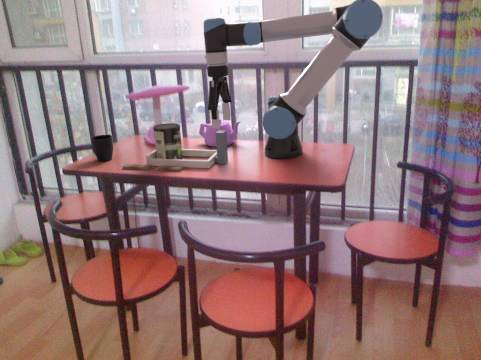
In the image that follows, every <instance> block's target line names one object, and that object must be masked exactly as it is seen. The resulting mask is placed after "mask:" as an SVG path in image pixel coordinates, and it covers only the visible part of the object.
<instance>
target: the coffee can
mask: <svg viewBox="0 0 481 360" xmlns="http://www.w3.org/2000/svg"><path fill="white" fill-rule="evenodd" d="M152 130H153V135H154V144H155V145H154V146H155V150H156V154H157V159H181V160H184V156H182V149H183V148H182V147H183V146H182V136H181V135H182V134H181V125H180V124H179V123H174V122H173V123H172V122H171V123H170V122H169V123H160V124H156V125H154V126H152Z"/></svg>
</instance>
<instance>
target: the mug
mask: <svg viewBox="0 0 481 360" xmlns="http://www.w3.org/2000/svg"><path fill="white" fill-rule="evenodd" d="M90 141H91V146H92V151H93V153H94V155H95V158H96V159H97V161H98V162H100V163H103V162H109V161H112V159H113V155H114V140H113V135H112V134H99V135H94V136H92V137H91V138H90Z"/></svg>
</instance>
